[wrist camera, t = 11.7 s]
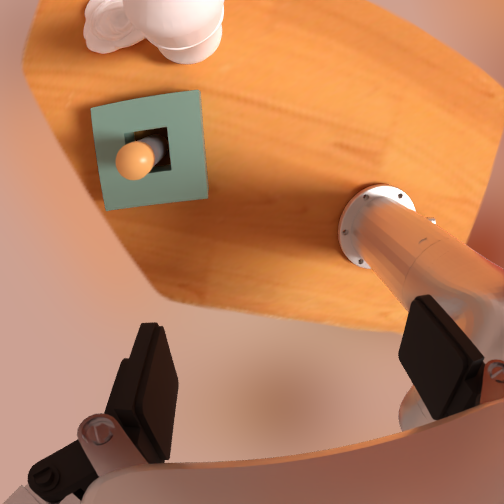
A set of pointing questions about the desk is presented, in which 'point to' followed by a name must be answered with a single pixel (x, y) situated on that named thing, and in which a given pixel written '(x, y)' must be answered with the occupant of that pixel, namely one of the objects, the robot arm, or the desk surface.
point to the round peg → (141, 156)
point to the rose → (109, 27)
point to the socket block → (180, 146)
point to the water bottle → (179, 26)
